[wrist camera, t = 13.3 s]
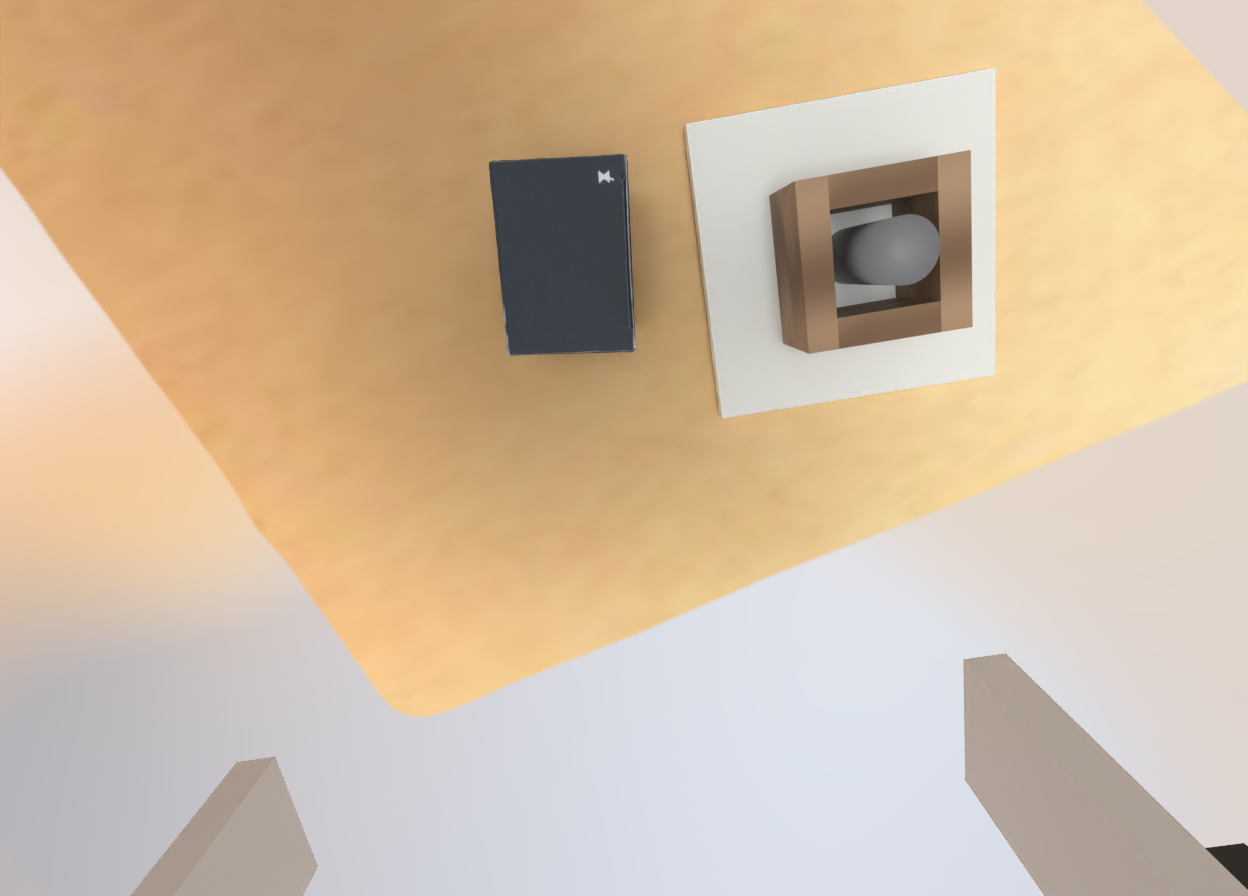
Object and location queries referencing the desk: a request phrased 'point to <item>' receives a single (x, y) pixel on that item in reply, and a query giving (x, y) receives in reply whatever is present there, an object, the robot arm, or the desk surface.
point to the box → (565, 254)
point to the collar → (918, 307)
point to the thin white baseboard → (838, 238)
